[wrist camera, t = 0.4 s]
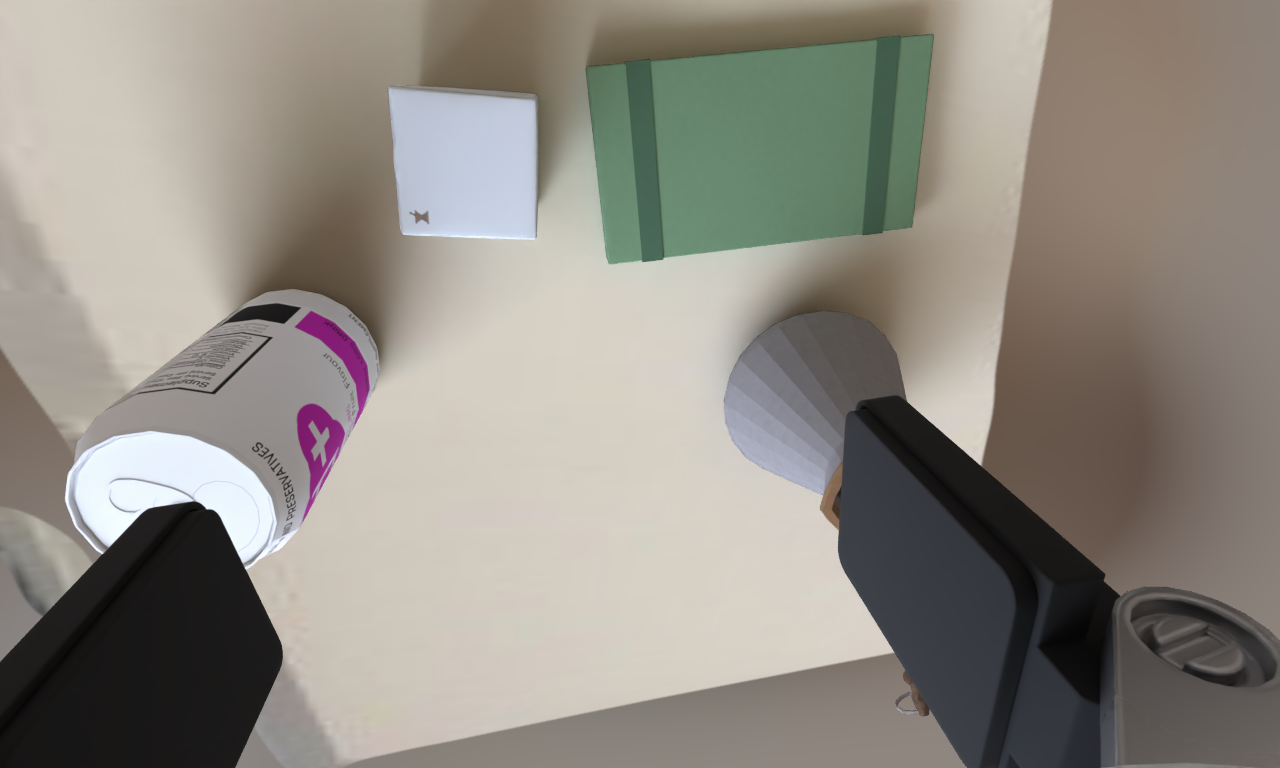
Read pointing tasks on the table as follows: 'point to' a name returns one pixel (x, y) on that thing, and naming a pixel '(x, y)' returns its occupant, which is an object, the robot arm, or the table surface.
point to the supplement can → (232, 425)
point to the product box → (465, 161)
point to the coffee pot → (810, 403)
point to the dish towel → (758, 146)
